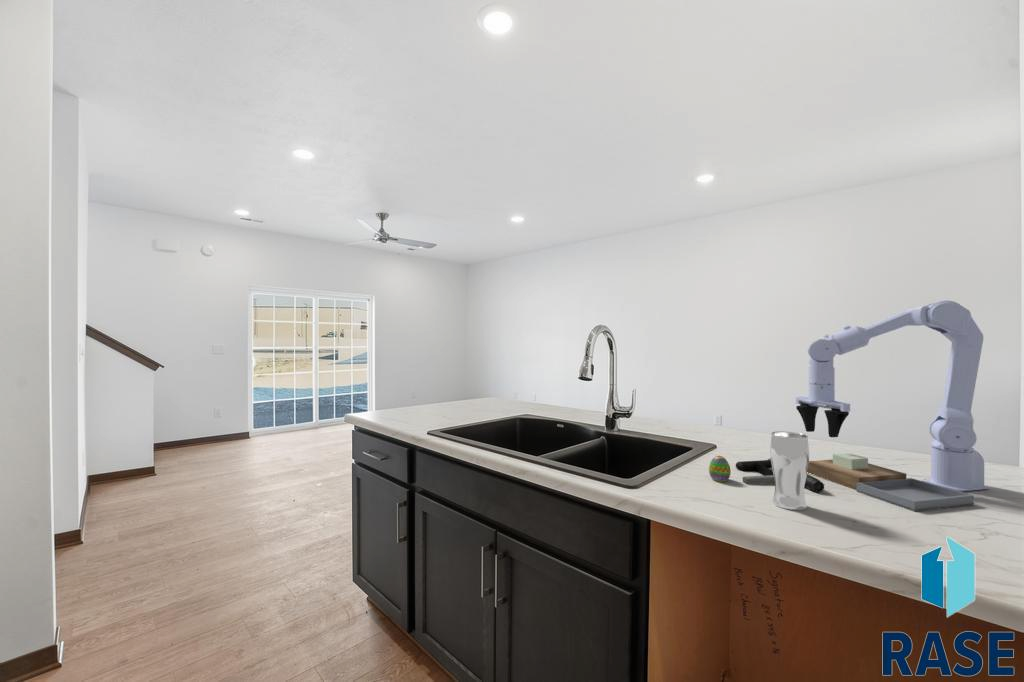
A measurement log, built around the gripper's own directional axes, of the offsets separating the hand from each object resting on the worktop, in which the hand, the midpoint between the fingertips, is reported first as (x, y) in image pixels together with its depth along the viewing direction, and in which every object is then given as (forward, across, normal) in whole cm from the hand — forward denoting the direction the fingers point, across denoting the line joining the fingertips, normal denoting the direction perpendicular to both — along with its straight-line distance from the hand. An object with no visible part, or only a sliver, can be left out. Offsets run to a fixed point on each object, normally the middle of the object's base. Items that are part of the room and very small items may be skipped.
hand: (821, 434), depth 118 cm
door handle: (+10, +4, -20) cm, 23 cm away
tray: (+9, +22, 0) cm, 24 cm away
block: (+6, +8, 0) cm, 10 cm away
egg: (+10, +2, -33) cm, 34 cm away
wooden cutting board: (+9, +9, 0) cm, 13 cm away
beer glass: (+10, +20, -30) cm, 37 cm away
